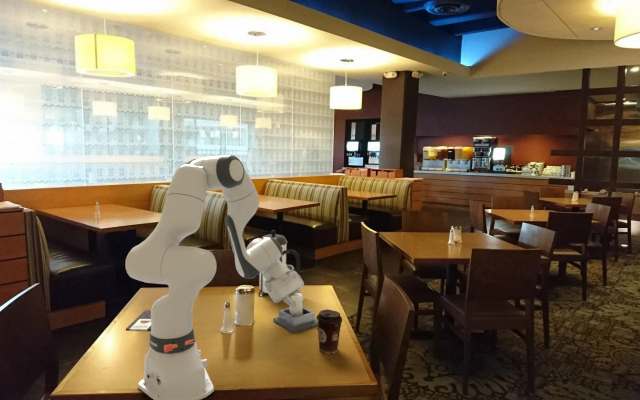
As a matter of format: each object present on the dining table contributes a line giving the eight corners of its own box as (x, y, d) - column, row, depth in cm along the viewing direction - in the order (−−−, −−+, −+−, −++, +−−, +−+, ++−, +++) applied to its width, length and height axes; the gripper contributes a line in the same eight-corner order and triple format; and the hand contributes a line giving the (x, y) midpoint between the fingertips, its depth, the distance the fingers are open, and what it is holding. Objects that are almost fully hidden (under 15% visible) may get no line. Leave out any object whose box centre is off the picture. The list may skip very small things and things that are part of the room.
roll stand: (320, 324, 162) (320, 313, 161) (292, 333, 154) (292, 320, 153) (300, 314, 172) (300, 303, 171) (273, 321, 164) (273, 309, 163)
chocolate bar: (167, 310, 170) (150, 329, 152) (167, 312, 170) (151, 331, 152) (145, 310, 170) (125, 328, 152) (145, 312, 170) (125, 331, 152)
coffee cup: (318, 357, 136) (320, 318, 135) (312, 345, 144) (313, 309, 143) (344, 354, 139) (345, 316, 137) (336, 343, 147) (337, 307, 145)
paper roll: (305, 320, 162) (304, 295, 161) (294, 323, 159) (293, 298, 158) (298, 316, 166) (297, 291, 165) (287, 319, 163) (286, 294, 162)
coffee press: (267, 301, 185) (268, 234, 181) (250, 291, 198) (251, 228, 194) (300, 294, 195) (301, 231, 192) (282, 285, 208) (283, 225, 204)
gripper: (267, 277, 154) (290, 307, 151) (293, 264, 172) (314, 291, 169) (257, 287, 156) (279, 317, 153) (284, 273, 174) (304, 300, 172)
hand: (298, 303), depth 161 cm, fingers open, 6 cm apart
